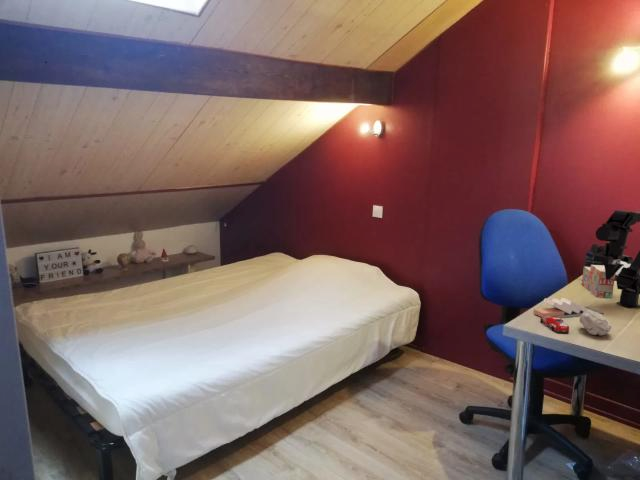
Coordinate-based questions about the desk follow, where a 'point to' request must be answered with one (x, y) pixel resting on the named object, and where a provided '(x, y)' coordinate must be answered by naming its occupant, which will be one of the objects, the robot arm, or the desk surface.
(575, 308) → the domino
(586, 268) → the stack of blocks
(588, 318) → the fossil replica
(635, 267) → the robot arm
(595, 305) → the desk surface
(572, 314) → the domino mat
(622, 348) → the desk surface
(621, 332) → the desk surface
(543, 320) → the race car
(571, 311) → the domino
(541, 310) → the domino
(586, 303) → the desk surface
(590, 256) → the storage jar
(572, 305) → the domino
